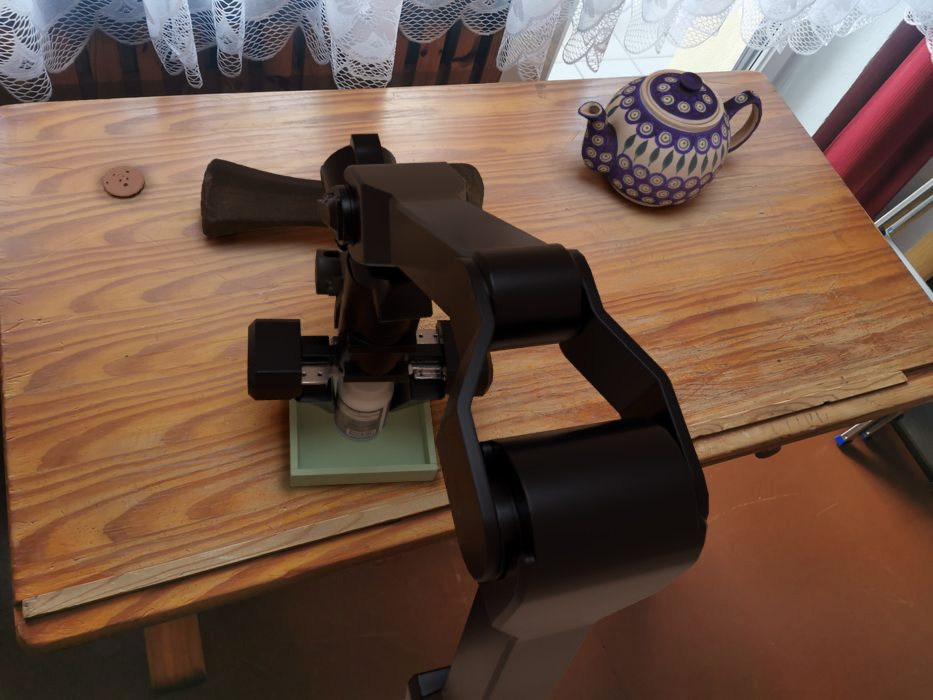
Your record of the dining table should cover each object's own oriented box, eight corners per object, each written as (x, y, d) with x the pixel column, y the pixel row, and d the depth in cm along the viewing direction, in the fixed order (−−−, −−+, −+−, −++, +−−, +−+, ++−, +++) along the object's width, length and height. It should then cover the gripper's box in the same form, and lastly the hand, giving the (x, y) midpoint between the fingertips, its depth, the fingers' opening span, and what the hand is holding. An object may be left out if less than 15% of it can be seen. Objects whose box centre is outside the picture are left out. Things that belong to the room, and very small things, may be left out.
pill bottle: (356, 385, 71) (365, 335, 64) (396, 416, 70) (409, 369, 63) (321, 420, 68) (326, 372, 62) (362, 452, 68) (372, 407, 61)
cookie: (100, 197, 77) (99, 190, 76) (105, 167, 79) (103, 160, 78) (143, 199, 77) (141, 192, 77) (146, 170, 80) (145, 162, 79)
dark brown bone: (476, 240, 87) (217, 244, 83) (480, 146, 81) (204, 146, 78) (491, 280, 77) (200, 287, 74) (497, 177, 72) (183, 178, 69)
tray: (433, 480, 68) (437, 470, 66) (290, 486, 65) (290, 475, 63) (419, 361, 74) (423, 348, 72) (288, 361, 71) (289, 348, 69)
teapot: (704, 130, 102) (762, 33, 90) (752, 216, 95) (823, 124, 83) (529, 135, 95) (567, 29, 82) (567, 229, 88) (615, 129, 75)
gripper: (492, 222, 61) (455, 331, 74) (246, 212, 57) (252, 330, 70) (515, 341, 55) (470, 436, 68) (244, 341, 51) (250, 443, 64)
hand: (361, 407), depth 68 cm, fingers closed on pill bottle, 5 cm apart
